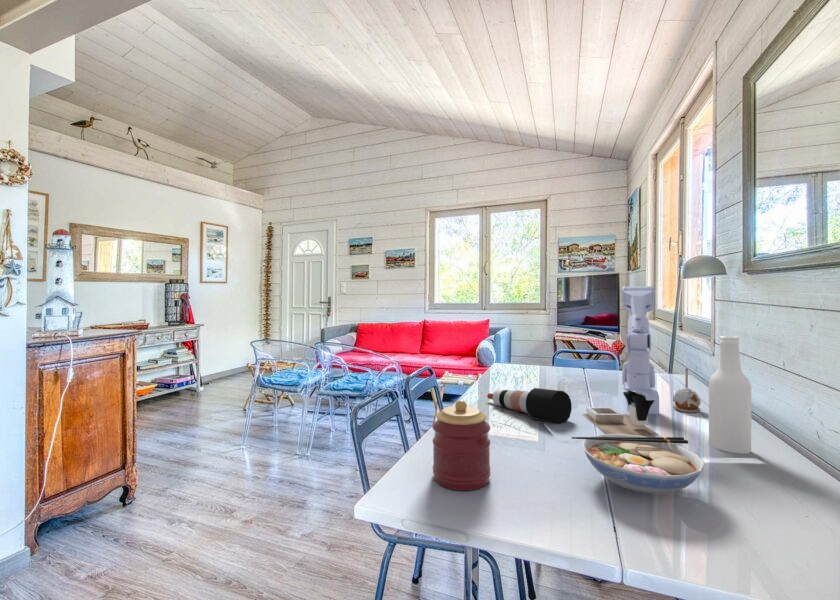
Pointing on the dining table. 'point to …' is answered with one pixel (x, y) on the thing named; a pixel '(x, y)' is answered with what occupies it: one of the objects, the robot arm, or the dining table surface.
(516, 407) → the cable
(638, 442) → the ramen bowl
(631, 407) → the connector plug
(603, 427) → the board
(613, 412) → the end holder
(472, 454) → the canister
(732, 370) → the alcohol
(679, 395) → the caramel apple
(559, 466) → the dining table surface
